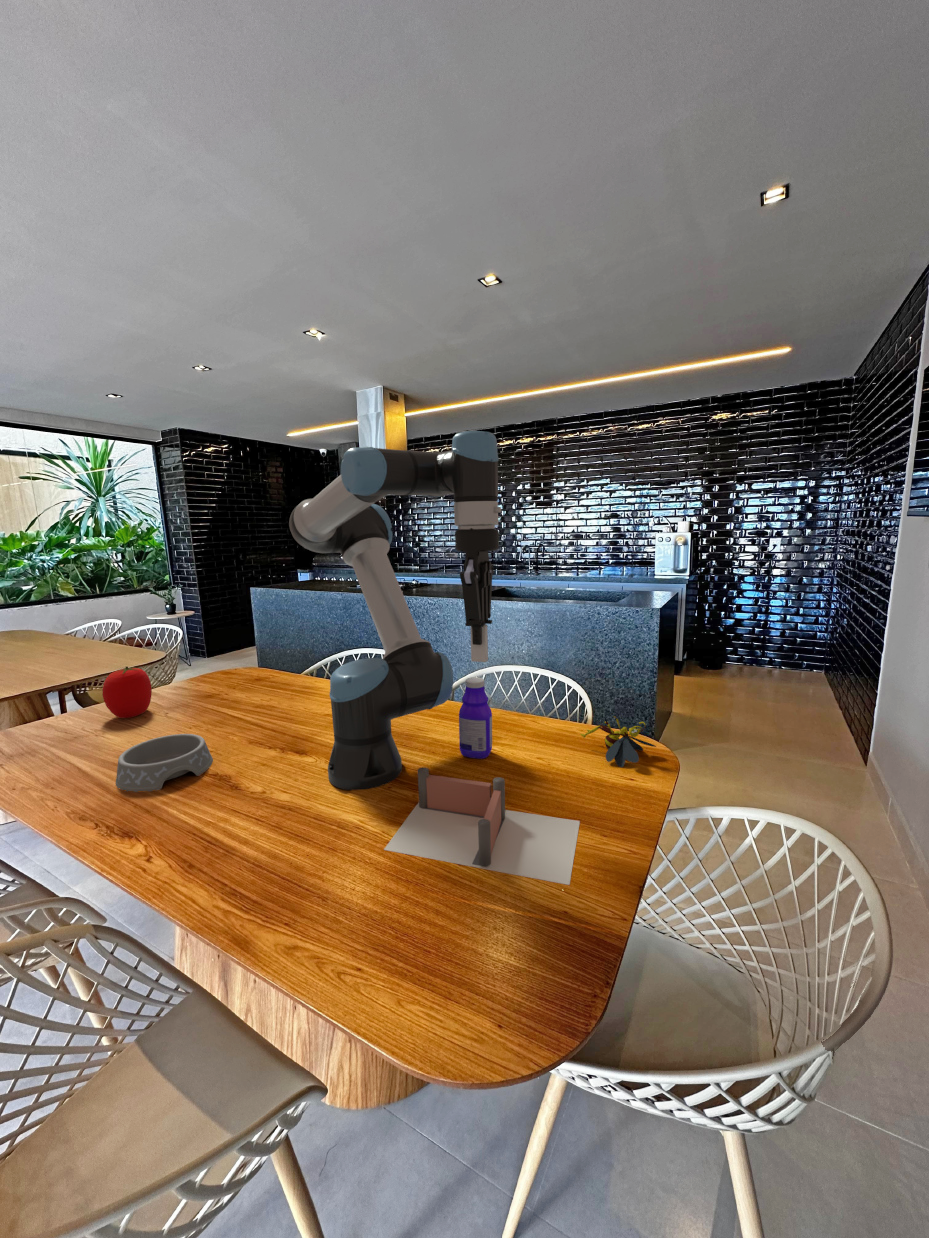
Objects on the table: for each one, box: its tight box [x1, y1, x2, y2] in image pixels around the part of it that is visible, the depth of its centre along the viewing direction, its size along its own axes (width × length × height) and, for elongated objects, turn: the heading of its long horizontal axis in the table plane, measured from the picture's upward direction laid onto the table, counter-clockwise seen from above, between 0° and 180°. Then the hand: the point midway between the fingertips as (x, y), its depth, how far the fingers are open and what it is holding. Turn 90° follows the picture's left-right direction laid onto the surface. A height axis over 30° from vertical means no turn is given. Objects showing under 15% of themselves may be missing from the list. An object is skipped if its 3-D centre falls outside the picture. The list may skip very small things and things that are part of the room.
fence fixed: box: [417, 766, 506, 820], centre depth 90 cm, size 16×2×7 cm, turn 72°
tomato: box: [102, 665, 153, 719], centre depth 141 cm, size 13×11×14 cm
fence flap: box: [478, 790, 501, 866], centre depth 80 cm, size 12×2×7 cm, turn 166°
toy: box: [580, 715, 657, 768], centre depth 111 cm, size 12×8×15 cm
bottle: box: [458, 676, 493, 760], centre depth 111 cm, size 7×6×17 cm
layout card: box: [383, 802, 581, 886], centre depth 83 cm, size 29×16×1 cm, turn 72°
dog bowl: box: [115, 733, 214, 793], centre depth 109 cm, size 17×18×5 cm
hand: (479, 660), depth 91 cm, fingers closed
